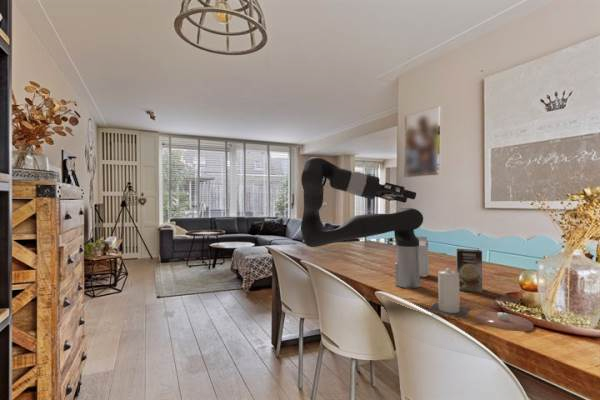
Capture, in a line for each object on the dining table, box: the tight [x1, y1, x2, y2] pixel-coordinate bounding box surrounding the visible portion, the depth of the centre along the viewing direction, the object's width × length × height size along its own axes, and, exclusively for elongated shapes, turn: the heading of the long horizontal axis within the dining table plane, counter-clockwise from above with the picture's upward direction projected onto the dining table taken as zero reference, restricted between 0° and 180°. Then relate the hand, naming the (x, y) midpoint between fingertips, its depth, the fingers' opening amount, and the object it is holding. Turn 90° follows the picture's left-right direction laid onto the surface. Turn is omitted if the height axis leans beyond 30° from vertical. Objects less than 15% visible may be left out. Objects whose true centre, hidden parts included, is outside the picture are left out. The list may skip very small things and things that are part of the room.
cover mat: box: [427, 302, 472, 319], centre depth 103 cm, size 11×11×1 cm
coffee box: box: [456, 248, 483, 293], centre depth 129 cm, size 9×6×16 cm
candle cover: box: [437, 267, 461, 313], centre depth 103 cm, size 6×6×13 cm
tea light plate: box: [475, 311, 534, 333], centre depth 92 cm, size 14×14×3 cm
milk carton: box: [415, 235, 430, 278], centre depth 156 cm, size 7×7×19 cm
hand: (410, 198), depth 103 cm, fingers open, 8 cm apart
